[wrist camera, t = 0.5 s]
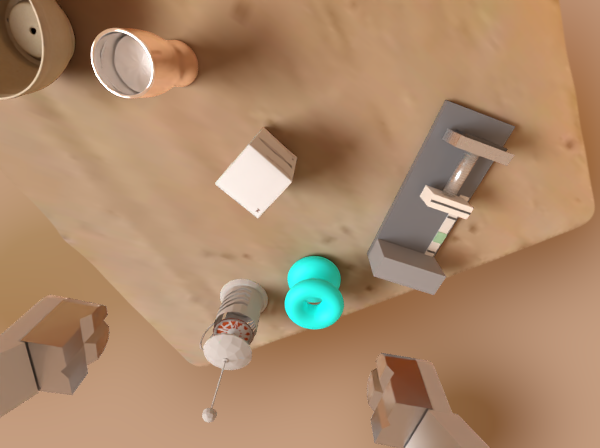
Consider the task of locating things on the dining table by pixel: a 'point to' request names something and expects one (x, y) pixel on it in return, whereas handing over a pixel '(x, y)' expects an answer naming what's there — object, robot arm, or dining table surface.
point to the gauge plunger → (471, 156)
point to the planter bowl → (32, 45)
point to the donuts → (314, 293)
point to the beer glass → (141, 62)
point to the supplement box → (259, 173)
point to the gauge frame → (416, 214)
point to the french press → (234, 329)
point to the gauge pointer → (446, 202)
